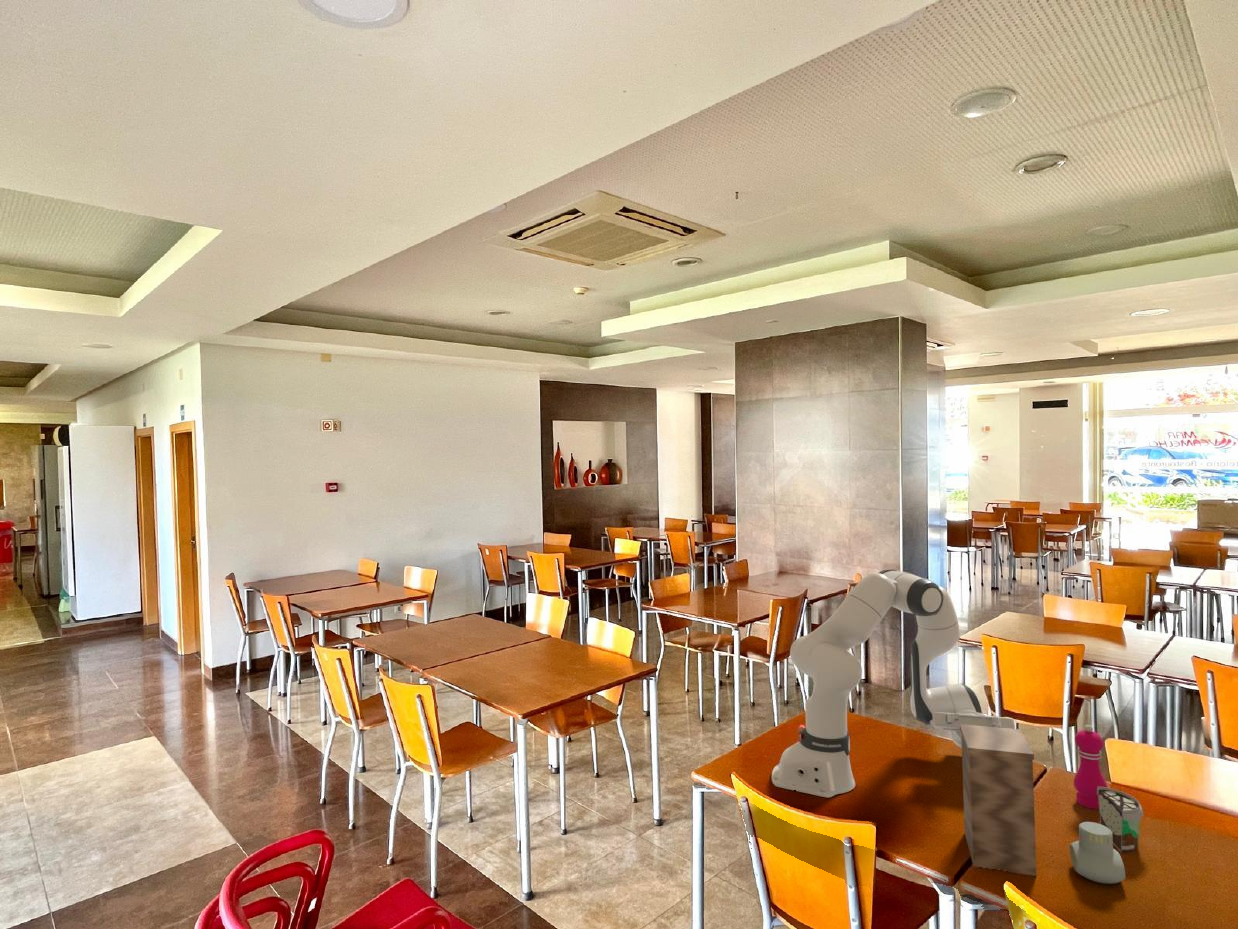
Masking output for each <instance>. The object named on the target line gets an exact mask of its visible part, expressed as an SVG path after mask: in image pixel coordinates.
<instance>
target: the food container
mask: <svg viewBox="0 0 1238 929" xmlns="http://www.w3.org/2000/svg"><path fill="white" fill-rule="evenodd" d="M1097 794H1098V800H1099V809H1098V810H1099V811H1098V812H1099V820H1100V821H1099V824H1101V825H1104V826H1106V827H1107V828H1109V829H1110V830H1111V832H1112V836H1113V846H1115V847H1116V848H1117V850H1118V851H1120V853H1122V854H1129V853H1134V852H1136V851H1137V850H1138V848H1139V837H1140V836H1139V832H1140V821H1141V819H1142V818H1143V817H1144V810H1143V807H1142V805H1141V804H1140V802H1139V800H1138V799H1137V798H1135V797H1134V796H1133V795H1131V794H1129V793H1126V792H1124V791H1121V790H1119V789H1114V788H1111V787H1108V788H1106V787H1098V789H1097Z"/></svg>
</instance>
